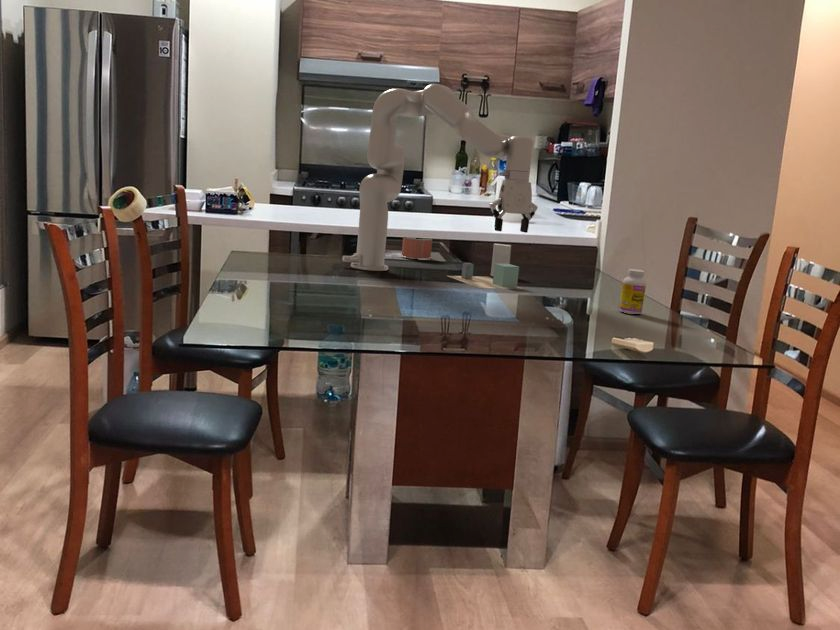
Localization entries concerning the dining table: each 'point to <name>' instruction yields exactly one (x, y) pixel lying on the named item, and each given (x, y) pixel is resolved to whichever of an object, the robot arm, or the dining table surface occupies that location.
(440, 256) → the dining table surface
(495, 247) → the skincare box
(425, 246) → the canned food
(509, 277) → the sage green cube
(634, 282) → the supplement bottle
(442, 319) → the dining table surface
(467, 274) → the post
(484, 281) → the board
